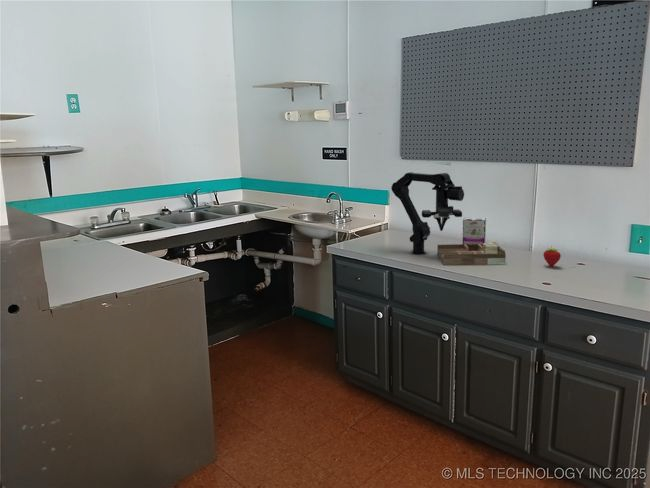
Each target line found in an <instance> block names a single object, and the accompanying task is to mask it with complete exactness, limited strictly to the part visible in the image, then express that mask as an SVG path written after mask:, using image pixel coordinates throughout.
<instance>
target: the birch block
mask: <svg viewBox="0 0 650 488" xmlns="http://www.w3.org/2000/svg"><path fill="white" fill-rule="evenodd" d="M495 243H496V242H495ZM495 243H493V242H491V243H490V242H489V243H486V242H485V243H483V252H484V253H485V254H497V252H498V246H499V245H498V244H497V243H496V244H497V245H498V246H497V245H496V244H495Z"/></svg>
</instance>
